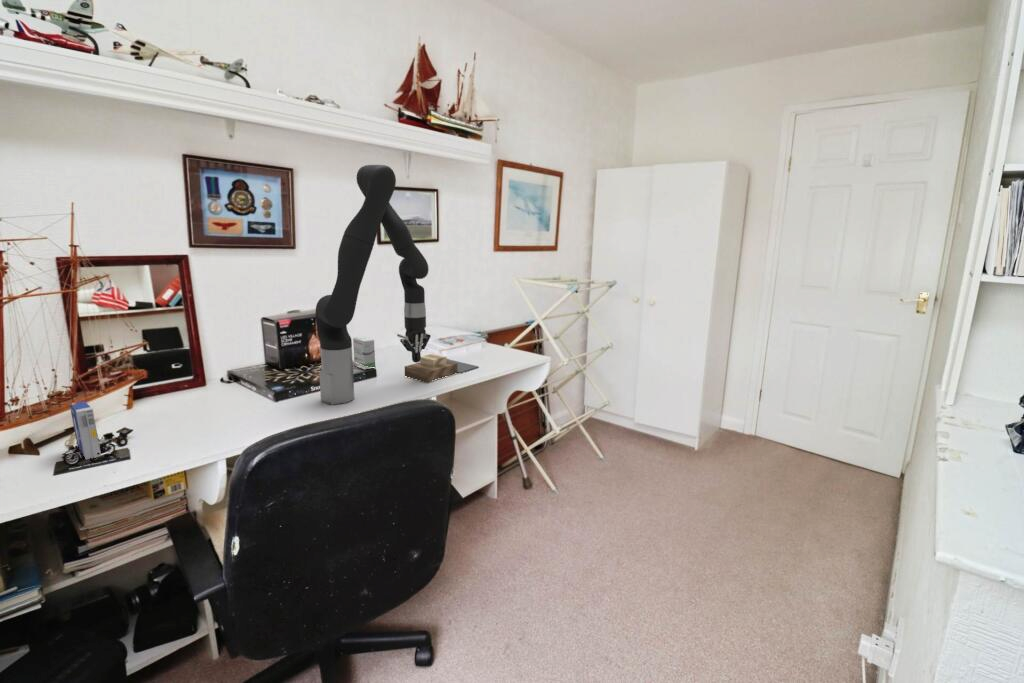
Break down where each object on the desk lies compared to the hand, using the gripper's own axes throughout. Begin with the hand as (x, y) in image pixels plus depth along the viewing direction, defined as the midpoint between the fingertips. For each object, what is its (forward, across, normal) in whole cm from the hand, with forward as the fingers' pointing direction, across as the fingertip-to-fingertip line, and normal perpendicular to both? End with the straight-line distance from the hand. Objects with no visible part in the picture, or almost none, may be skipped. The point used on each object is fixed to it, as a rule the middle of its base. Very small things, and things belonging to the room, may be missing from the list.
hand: (416, 361), depth 173 cm
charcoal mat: (+7, +22, +2) cm, 23 cm away
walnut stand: (+7, +8, 0) cm, 10 cm away
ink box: (+7, -2, +27) cm, 28 cm away
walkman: (+6, -89, +15) cm, 91 cm away
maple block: (+3, +9, 0) cm, 9 cm away
